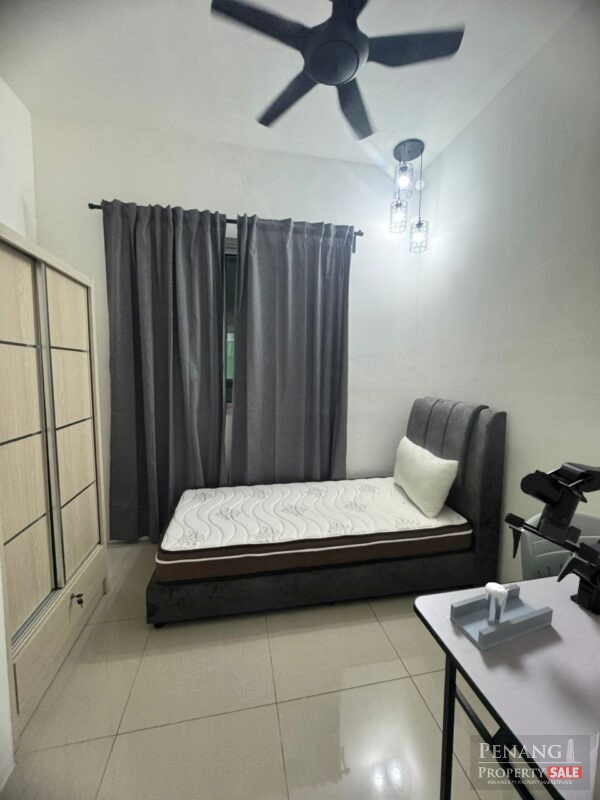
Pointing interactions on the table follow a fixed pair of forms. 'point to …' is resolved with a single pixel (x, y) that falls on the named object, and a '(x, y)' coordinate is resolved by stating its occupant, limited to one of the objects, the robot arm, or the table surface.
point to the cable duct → (514, 623)
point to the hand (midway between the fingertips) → (534, 569)
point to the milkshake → (495, 602)
